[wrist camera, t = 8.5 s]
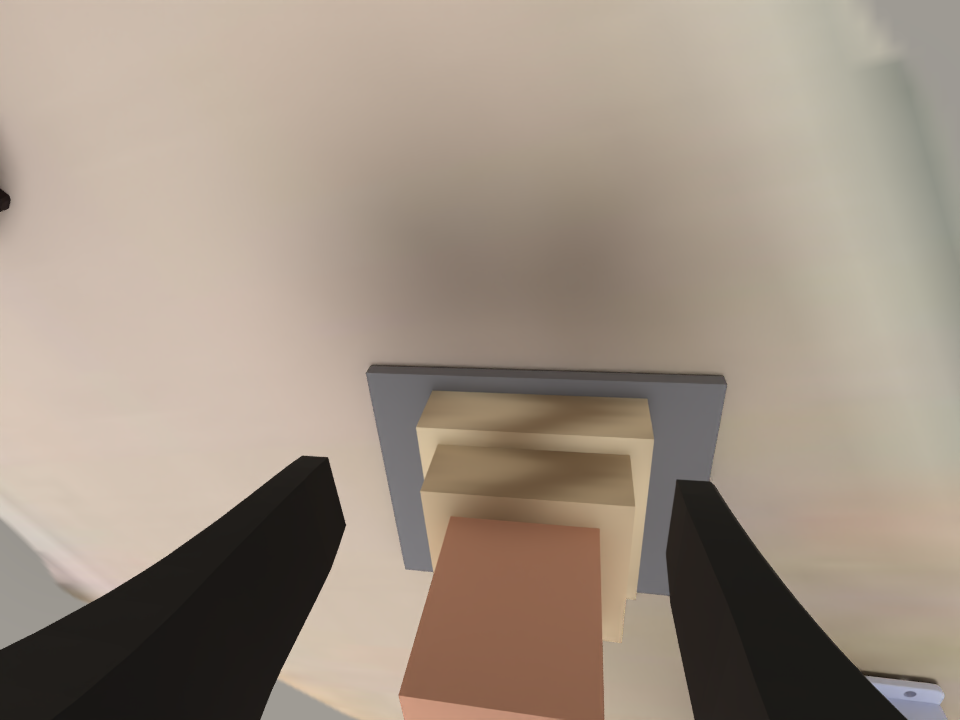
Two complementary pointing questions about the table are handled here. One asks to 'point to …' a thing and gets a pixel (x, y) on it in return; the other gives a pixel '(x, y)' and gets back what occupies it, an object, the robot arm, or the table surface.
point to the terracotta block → (510, 626)
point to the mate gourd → (4, 201)
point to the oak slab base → (547, 435)
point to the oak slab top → (540, 503)
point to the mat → (671, 398)
